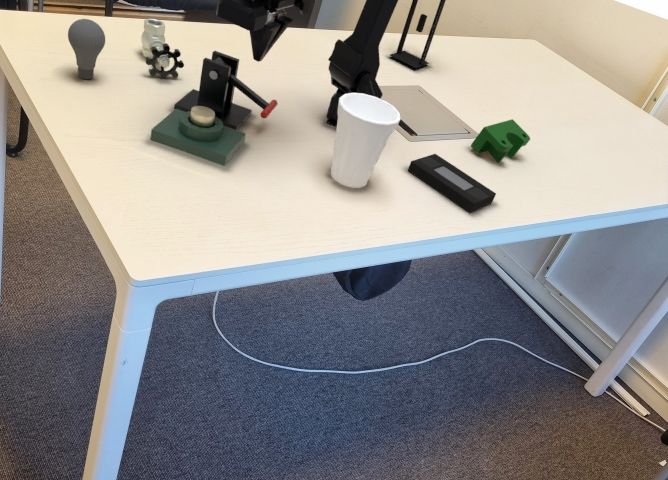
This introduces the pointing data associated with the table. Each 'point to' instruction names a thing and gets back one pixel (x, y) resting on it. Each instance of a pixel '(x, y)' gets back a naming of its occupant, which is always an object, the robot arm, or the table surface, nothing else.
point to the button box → (198, 137)
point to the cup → (361, 137)
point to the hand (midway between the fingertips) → (257, 60)
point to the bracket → (217, 92)
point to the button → (202, 116)
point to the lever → (251, 93)
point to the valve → (158, 49)
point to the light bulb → (86, 45)
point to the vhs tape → (452, 182)
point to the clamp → (501, 140)
